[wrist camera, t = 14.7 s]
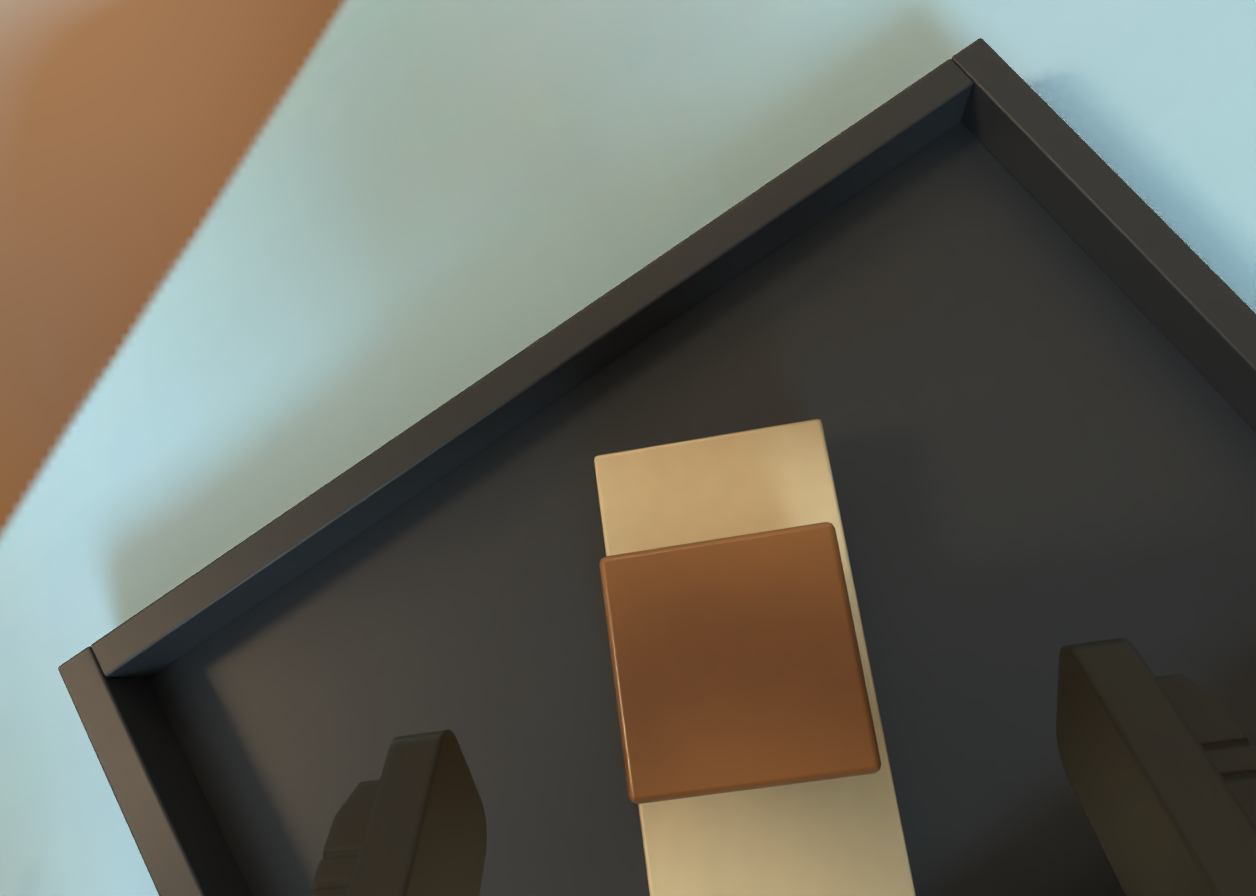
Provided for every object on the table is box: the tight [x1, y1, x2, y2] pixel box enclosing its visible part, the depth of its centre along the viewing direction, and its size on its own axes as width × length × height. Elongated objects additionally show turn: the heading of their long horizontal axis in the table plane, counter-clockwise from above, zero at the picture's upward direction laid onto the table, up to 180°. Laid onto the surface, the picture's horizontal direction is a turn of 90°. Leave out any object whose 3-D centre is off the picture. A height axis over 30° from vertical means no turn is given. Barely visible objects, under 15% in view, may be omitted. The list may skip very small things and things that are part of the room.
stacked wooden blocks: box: [594, 419, 916, 896], centre depth 15 cm, size 9×4×8 cm, turn 8°
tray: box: [58, 38, 1256, 896], centre depth 19 cm, size 24×16×2 cm, turn 124°
